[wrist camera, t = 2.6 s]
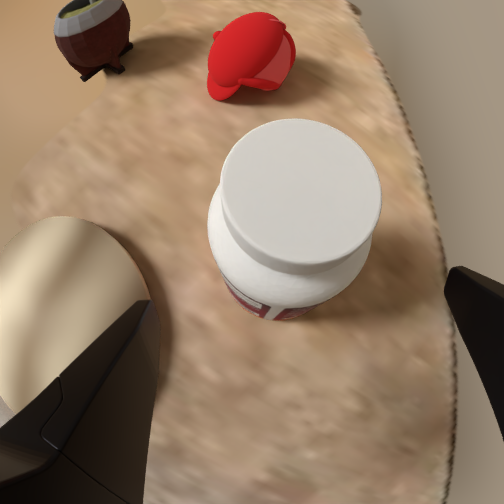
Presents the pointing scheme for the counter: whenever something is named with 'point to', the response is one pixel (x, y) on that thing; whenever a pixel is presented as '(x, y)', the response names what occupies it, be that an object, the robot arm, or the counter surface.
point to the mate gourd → (93, 35)
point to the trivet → (58, 300)
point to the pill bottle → (293, 217)
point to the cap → (249, 55)
